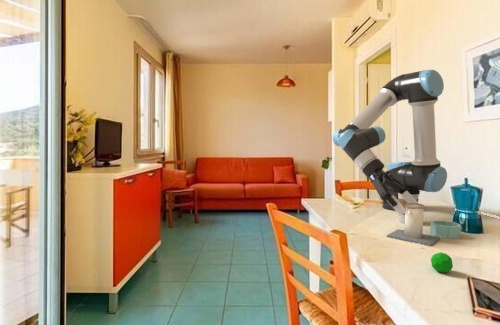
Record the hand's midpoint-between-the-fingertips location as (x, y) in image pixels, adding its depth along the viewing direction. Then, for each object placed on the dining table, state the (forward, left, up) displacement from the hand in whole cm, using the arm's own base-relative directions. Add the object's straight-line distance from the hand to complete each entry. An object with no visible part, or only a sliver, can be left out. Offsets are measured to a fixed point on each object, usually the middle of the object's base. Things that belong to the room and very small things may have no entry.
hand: (410, 210), depth 114 cm
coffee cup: (-21, -8, -10) cm, 25 cm away
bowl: (-12, +8, -10) cm, 18 cm away
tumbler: (-1, +1, -9) cm, 9 cm away
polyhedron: (+26, +16, -10) cm, 32 cm away
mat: (0, +1, -10) cm, 10 cm away
